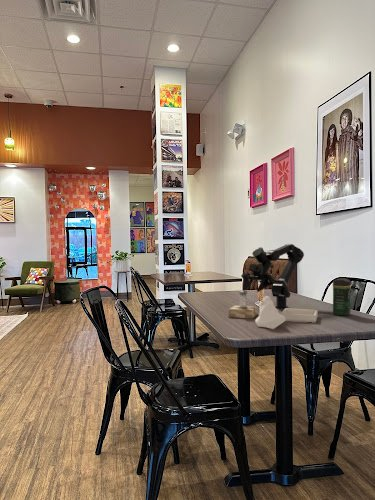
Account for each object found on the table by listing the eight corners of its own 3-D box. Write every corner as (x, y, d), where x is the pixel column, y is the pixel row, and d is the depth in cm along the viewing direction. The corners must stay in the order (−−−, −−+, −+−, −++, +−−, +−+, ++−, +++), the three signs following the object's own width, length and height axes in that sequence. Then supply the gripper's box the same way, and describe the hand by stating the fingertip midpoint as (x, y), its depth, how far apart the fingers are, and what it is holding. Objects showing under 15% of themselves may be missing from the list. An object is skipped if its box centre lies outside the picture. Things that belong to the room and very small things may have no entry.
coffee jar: (347, 316, 183) (347, 279, 182) (331, 315, 187) (330, 278, 187) (352, 313, 190) (351, 277, 190) (336, 312, 195) (335, 277, 195)
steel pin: (240, 314, 193) (239, 290, 193) (248, 315, 191) (248, 290, 191) (238, 316, 189) (237, 291, 189) (246, 316, 187) (246, 292, 187)
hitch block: (234, 312, 198) (234, 305, 198) (257, 314, 193) (257, 306, 193) (228, 316, 187) (228, 309, 187) (252, 318, 182) (252, 310, 182)
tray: (285, 315, 190) (285, 308, 190) (317, 316, 184) (317, 309, 184) (281, 320, 175) (280, 313, 175) (315, 323, 169) (315, 315, 169)
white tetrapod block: (258, 333, 158) (249, 301, 160) (257, 328, 173) (248, 298, 174) (287, 326, 157) (278, 293, 158) (283, 321, 171) (274, 292, 173)
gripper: (243, 258, 204) (229, 279, 197) (271, 258, 190) (257, 281, 183) (252, 271, 210) (239, 292, 203) (280, 273, 196) (267, 296, 188)
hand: (250, 290), depth 194 cm, fingers open, 9 cm apart
